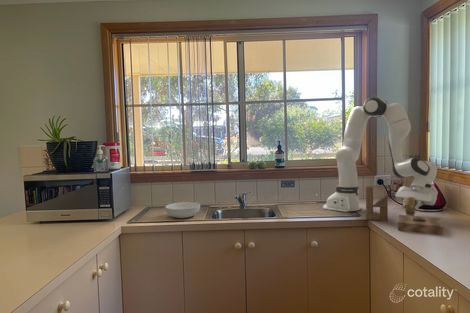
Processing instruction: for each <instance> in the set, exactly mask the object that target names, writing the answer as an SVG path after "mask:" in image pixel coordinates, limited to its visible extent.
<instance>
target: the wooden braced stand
mask: <svg viewBox="0 0 470 313" xmlns="http://www.w3.org/2000/svg"><path fill="white" fill-rule="evenodd" d="M388 198H389V197H388V193H385V194H384V195H383V196H382V197H381V198H379V200H377V201H376V202H375V203H374V186H373V185H366V186H365V220H366V221H367V220H369V221H370V220H371V221H383V222H384V221H385V222H386V221H389V218H388V217H389V216H388V215H389V214H388V212H389V210H388V207H389V204H388V200H389V199H388ZM374 208H379V212H377V211H374Z"/></svg>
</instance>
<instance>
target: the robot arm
mask: <svg viewBox="0 0 470 313" xmlns="http://www.w3.org/2000/svg"><path fill="white" fill-rule="evenodd" d="M380 117H383V118H384V120H385V122H386V124H387V128H388V140H387V142H388V147H389V153H390V156H391V157H390V158H391V162H392V165H391V166H392V167H391V168H392V172H393V174H394V176H396V177H397V178H399V179H406V178H409V177H413V181H412V183H411V184H410V185H403V186H400V187H399V189H398V190H397V191H396V193H395V194H394V197H395V198H396V199H397V201H400V202H401V201H402V208H405V197H415V205H414V207H413V208H414V209H415V211H416V210H418V209H419V208H420V207H422V206H423V205H426V206H434V205H435V204H436V201H437V199H438V194H439V192H438V190H437V188H436V187H435V185H433V184H432V183H434V181H435V178H436V177H437V174H438V166H437V165H436V164H435V162H432V161H427V160H426V161H425V160H424V159H422V158H421V157H419V156H415V157H411V158H407V159H406V158H405V159H404V157H403V152H402V147H401V145H402V142H403V141H404V140H405V138H407V136H409V134H410V132H411V130H412V124H411V122H410V119H409V117H408V114H407V112H406V110H405V109H404V107H403V106H402V104H400V103H399V102H393V103H388V102H387V101H386V100H385V99H383V98H380V97H375V96H371V97H369V98H367V99H366V100H365V101H364V102H363V106H361V105H360V106H359V105H358V106H355V107H353V108H352V109H351V111H350V114H349V116H348V119H347V123H346V125H345V129H344V133H343V140H342V141H343V142H342V143H343V144H342V147H340V148H339V149H338V150H337V151H336V153H335V160H336V165H337V173H338V185H336V186H335V192H334V193H332V194H331V195H330V196H328V198H327V200H326V203H325V204H324V205H323V206H322V209H323V210H329V211H335V212H336V211H337V212H346V213H348V212H355V211H360V210H361V209H362V208H361V205H360V201H359V200H360V199H359V195H360V194H359V193H360V192H359V191H360V190H359V188H360V187H359V186H358V183H359V182H358V181H359V180H358V171H357V164H356V162H357V161H358V160H359V158H360V153H361V148H362V143H363V138H364V135H365V132H366V131H365V130H366V128H367V124H368V121H369V119H370V118H380Z"/></svg>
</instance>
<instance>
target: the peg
mask: <svg viewBox="0 0 470 313" xmlns="http://www.w3.org/2000/svg"><path fill="white" fill-rule="evenodd" d="M414 205H416V203H415V197H405V215H408V216H415V214H416V210H415V209H414V208H413V207H414Z"/></svg>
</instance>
